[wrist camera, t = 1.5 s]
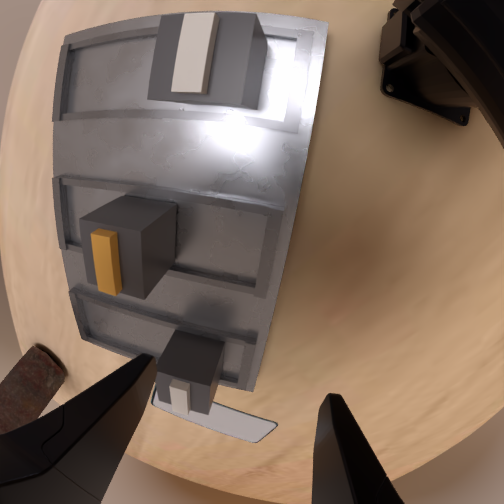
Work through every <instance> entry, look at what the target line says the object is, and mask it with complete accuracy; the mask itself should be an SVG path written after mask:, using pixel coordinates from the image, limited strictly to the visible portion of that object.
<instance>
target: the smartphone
mask: <svg viewBox="0 0 504 504" xmlns="http://www.w3.org/2000/svg"><path fill="white" fill-rule="evenodd" d="M151 404H152V405H154V406H155V407H158V408H160V409H162V410H164V411H166V412H169V413H171V414H173V415H176V416H178V417H180V418H183V419H185V420H188V421H190V422H193V423H195V424H198V425H201V426H203V427H206V428H209V429H212V430H214V431H217V432H220V433H223V434H226V435H229V436H232V437H236V438H239V439H242V440H245V441H249V442H252V443H257V442H259V441H260V440H262V439H263V438H264V437H265V436H266V435H268V434H269V433H270V432H271V431H272V430H274V429H275V428H276V427H277V426H278V423H276V422H274V421H270V420H267V419H263V418H260V417H257V416H254V415H251V414H247V413H244V412H241V411H238V410H235V409H233V408H230V407H227V406H224V405H221V404H219V403H216V402H213V403H212V406H211V409H210V412H209V415H206V414H202V413H198V412H194V411H191V410H190V412H189V414H188V416H187V415H184V414H180V413H177V412H174V411H172V405H171V404H167V403H164V402H161V401H159V399H158V394H157V389H156V384H155V388H154V391H153V395H152V399H151Z"/></svg>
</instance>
